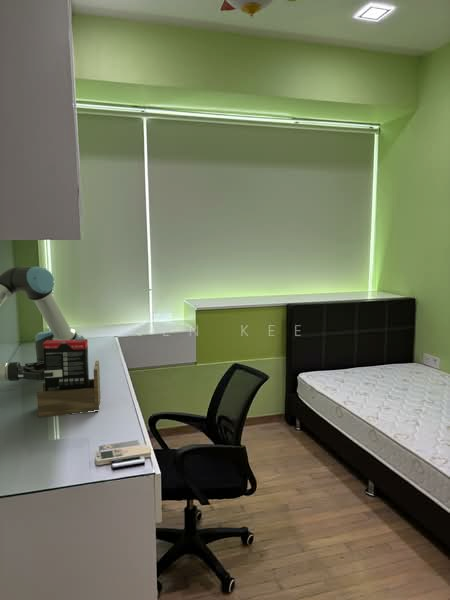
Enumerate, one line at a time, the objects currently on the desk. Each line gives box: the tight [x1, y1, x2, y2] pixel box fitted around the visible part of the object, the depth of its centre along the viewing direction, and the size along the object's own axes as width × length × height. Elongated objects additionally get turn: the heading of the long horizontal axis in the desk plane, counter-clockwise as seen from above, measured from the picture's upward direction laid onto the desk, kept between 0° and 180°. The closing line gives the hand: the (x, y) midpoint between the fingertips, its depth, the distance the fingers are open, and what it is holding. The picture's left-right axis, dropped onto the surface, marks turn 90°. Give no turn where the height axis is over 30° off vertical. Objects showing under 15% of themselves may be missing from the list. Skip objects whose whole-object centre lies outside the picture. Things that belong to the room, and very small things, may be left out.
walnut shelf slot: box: [36, 360, 102, 418], centre depth 180 cm, size 14×23×18 cm, turn 103°
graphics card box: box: [43, 338, 90, 391], centre depth 179 cm, size 17×7×27 cm, turn 100°
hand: (64, 368), depth 178 cm, fingers open, 13 cm apart
